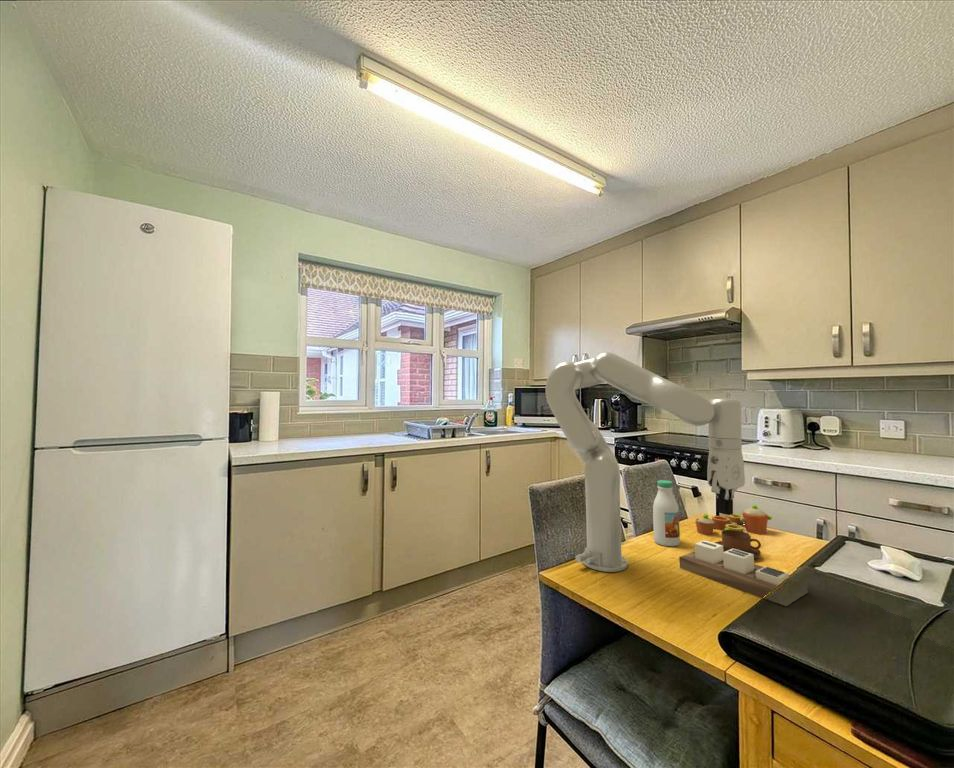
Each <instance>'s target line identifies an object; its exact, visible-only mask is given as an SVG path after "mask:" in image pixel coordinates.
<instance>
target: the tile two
mask: <svg viewBox="0 0 954 768" xmlns="http://www.w3.org/2000/svg"><path fill="white" fill-rule="evenodd" d="M723 561H724V568H727V569H730V570H733V571H736V572H739V573H742V574H745V575H746V574H748V573H750V572H752V571H754V564H755V558H754V554H750V553H747V552H744V551H740V550H737V549H730V550H728V551H725V552H723Z"/></svg>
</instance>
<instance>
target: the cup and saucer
mask: <svg viewBox="0 0 954 768" xmlns="http://www.w3.org/2000/svg"><path fill="white" fill-rule="evenodd" d="M751 542H756V543H757V545H756V546H753V545H751ZM714 543H716V544H719V545H723V552H725V551H728V550H730V549H737V550H740V551H744V552H747V553H750V554H754V559H757V558H758V557H760V556H761V554H762V553H761V550H760V549H761V546H762V543H761V541H760V540H758V539H756V538H751V534H749V533H748V534H747V533H744V532H741V531H735V530H721V540H719V541H716V542H714Z"/></svg>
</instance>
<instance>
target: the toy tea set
mask: <svg viewBox="0 0 954 768" xmlns="http://www.w3.org/2000/svg"><path fill="white" fill-rule="evenodd" d="M772 519H773V517H772V516H771V515H768V513H765V511H763V510H762V509H760V508H758V506H757V504H752V506H751V507H748V508H746V509H744V510H743V511H742V515H741V514H740V513H733V514H731V515H726V514H724V516H721V515H713V516H711V518H710V517H709V515H708V514H707V513H704V514H703V516H702V517H700V518H699V517H698V518H695V527H696V531H697V533H698V534H701V535H705V536H711V535H713V534H714V533H713V532H714V529H715V530H719V531H724V530H735V531H741V532H744V533H747V534H749V533H751V534H754V535H765V534H767V528H768V527H767V526H768V522H769V521H771V520H772ZM768 520H769V521H768ZM743 524H745V525H743Z"/></svg>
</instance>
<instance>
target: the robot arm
mask: <svg viewBox="0 0 954 768" xmlns="http://www.w3.org/2000/svg"><path fill="white" fill-rule="evenodd" d="M605 383H606V384H607V385H610V386H612V387H613V388H615V389H617V390H619V391H622V392H623V393H625V394H626V395H628V396H630V397H632V398H634V399H636V400H639V401H641V402H643V403H645V404H650V405H653V406H655V407H658V408H660V409H662V410H664V411H667V412H668V413H670V414H671V415H674V416H675V417H677V418H678V420H680V421H681V422H683V423H685V424H688V425H691V426H696V427H697V426H699V427H701V426H705V425H708V450H709V451H708V452H709V453H708V457H707V471H706V474H707V477H706V478H707V484H708V485H709V487H710V488H711V490H710V491H711V493H713V494H715V497H716V499H717V500H716V502H717V503H716V504H717V505H716V508H717V509H716V512H717V513H719V514H722V515H731V514H734V501H733V500H734V498H735V491H737V490H738V489H740V488H742V487H744V486H745V484H746V481H745V478H746V477H745V464H744V456H743V452H742V449H743V448H742V445H743V444H742V438H743V437H742V402H741V401H740V400H739V399H737V398H736V399H735V398H712V399H710V398H709V399H708V398H705V397H704V396H701V395H700V394H698V393H695V392H694V391H692V390H690V389H688V388H686V387H683V386H682V385H679V384H678V383H675V382H673V381H670V380H668V379H667V378H664V377H663V376H661V375H658V374H656V373H654V372H652V371H650V370H648V369H646V368H643V367H642V366H639V365H637V364H635V363H634V362H631V360H628V359H626V358H625V357H624V358H623V357H621V356H619V355H618V354H616V353H613V352H609V351H604V352H601V353H598V354H597V355H596V356H595V357H594V358H593V357H592V358H589V359H586V360H581V361H578V362H572V361H561V362H559V363H558V364H556V365H555V367H553V369H552V370H551V372H549V374H548V377H547V380H546V383H545V398H546V402H547V404H548V406H549V409H550V411H551V413H552V414H553V416H554V418H555V419H556V421H557V423H558V426H559V428H560V429H561V430H562V432H563V434H564V436H565V438H566V441H567V442H568V444H569V446H570V447H571V448H572V449H573V450H575V451H576V453H577V454H578V456H579V458H580V460H581V461H582V463H583V464H584V488H585V491H584V492H585V516H586V517H585V519H586V523H585V525H586V547H584V551H583V552H582V553H580V554H579V553H578V554H575V557H574V558H575V561H576V562H577V563H582V564H583V565H584V566H585V567H587V568H589V569H592V570H594V571H597V572H598V571H599V572H606V573H616V572H622V571H624V570H626V569H627V568H628V560H627V559H626V558H625V556H623V555H622V554H623V553H622V552H623V551H622V526H621V525H622V523H621V521H622V518H621V515H622V514H621V471H620V470H621V469H620V465H619V462H618V460H617V458H616V455H615V454H614V453H613V451H612V450H611V447H610V446H609V444H608V443H607V441H606V439H605V438H604V436H603V434H602V432H601V431H600V430H599V428H598V426H597V425H596V423H595V422H593V421H592V420H590V417H588V415H587V413H586V412H585V410H584V409H583V408H584V407H583V406H582V403H580V401H579V399H578V398H577V394H576V390H581V389H584V388H589V387H593V386H597V385H600V384H605Z"/></svg>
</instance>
